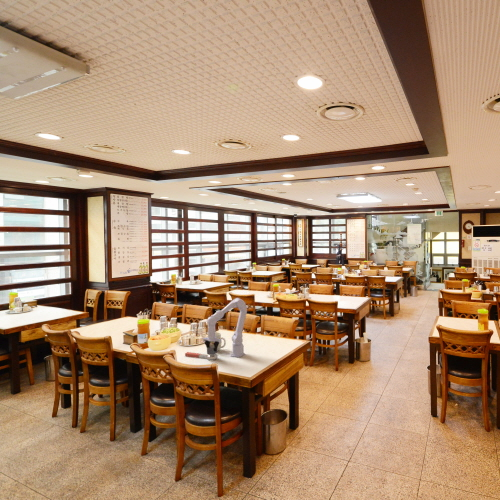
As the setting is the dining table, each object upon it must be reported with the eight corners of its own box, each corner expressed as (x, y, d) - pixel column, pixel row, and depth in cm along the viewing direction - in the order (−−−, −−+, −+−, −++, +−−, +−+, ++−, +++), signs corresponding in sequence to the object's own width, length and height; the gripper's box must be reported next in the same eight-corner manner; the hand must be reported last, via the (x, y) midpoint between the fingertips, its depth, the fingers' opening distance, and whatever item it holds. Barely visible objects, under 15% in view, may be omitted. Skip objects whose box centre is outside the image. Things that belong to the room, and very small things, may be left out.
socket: (210, 351, 264) (210, 345, 264) (217, 352, 262) (216, 345, 262) (207, 354, 259) (206, 347, 259) (213, 354, 257) (213, 348, 257)
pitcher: (222, 353, 272) (222, 336, 272) (202, 351, 280) (202, 334, 279) (228, 349, 282) (228, 332, 282) (209, 347, 290) (209, 330, 289)
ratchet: (183, 357, 266) (183, 350, 266) (189, 353, 273) (189, 347, 273) (214, 361, 256) (214, 353, 255) (219, 357, 263) (219, 350, 263)
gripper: (200, 333, 259) (201, 351, 260) (217, 335, 254) (218, 353, 254) (205, 331, 266) (205, 348, 266) (222, 332, 260) (222, 350, 261)
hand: (212, 350), depth 261 cm, fingers closed on socket, 5 cm apart
